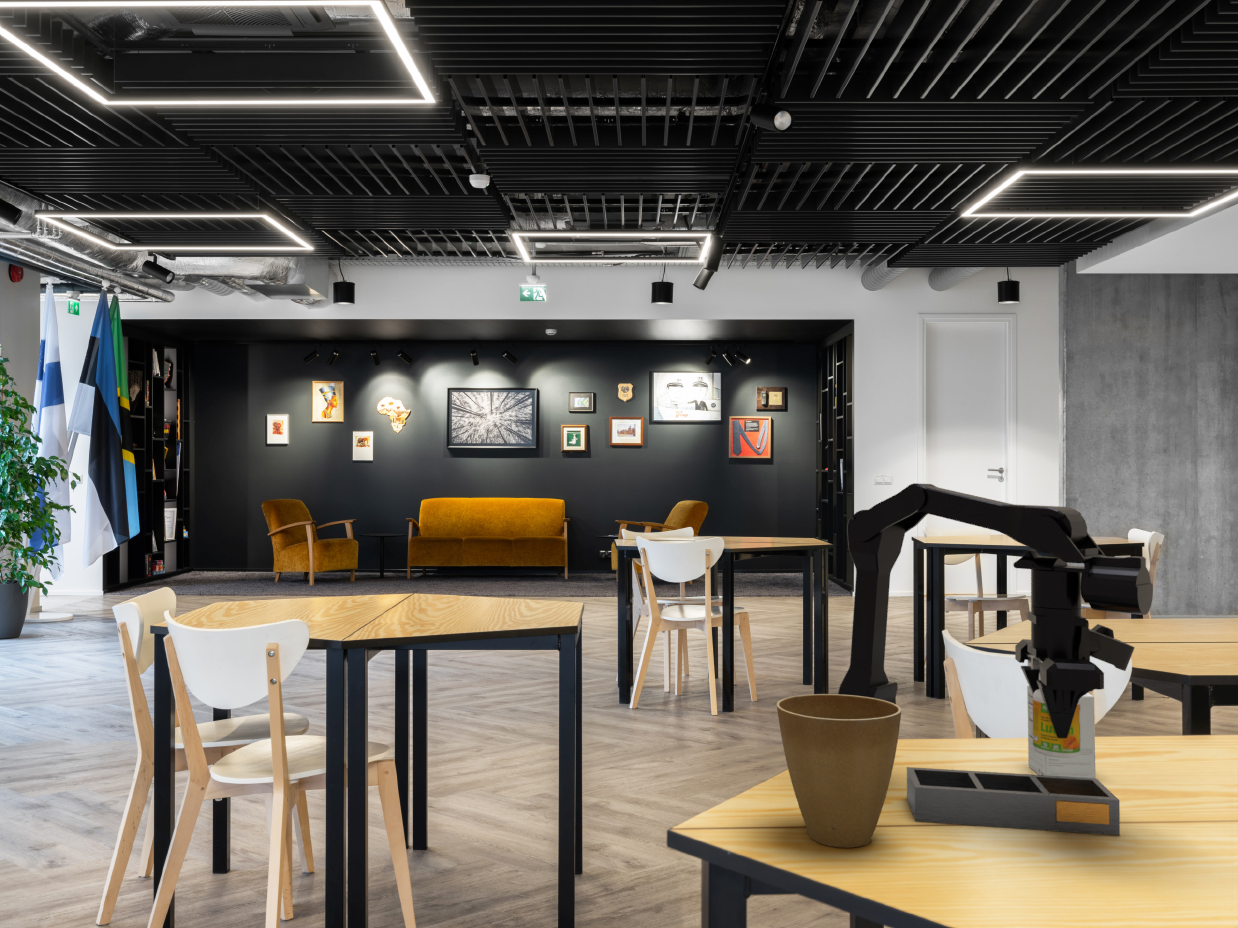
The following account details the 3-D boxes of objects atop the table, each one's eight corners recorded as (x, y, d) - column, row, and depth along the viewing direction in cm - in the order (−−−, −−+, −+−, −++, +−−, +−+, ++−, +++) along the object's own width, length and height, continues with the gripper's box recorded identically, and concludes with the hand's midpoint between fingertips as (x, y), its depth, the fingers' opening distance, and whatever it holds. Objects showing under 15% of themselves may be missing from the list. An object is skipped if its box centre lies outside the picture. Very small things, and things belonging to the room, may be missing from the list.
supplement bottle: (1035, 755, 113) (1035, 676, 113) (1030, 744, 118) (1030, 668, 119) (1083, 760, 111) (1083, 679, 112) (1076, 748, 117) (1076, 671, 117)
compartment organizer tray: (915, 821, 118) (915, 787, 118) (906, 798, 127) (906, 766, 127) (1120, 836, 113) (1120, 800, 113) (1096, 810, 122) (1096, 778, 122)
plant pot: (914, 829, 115) (914, 700, 116) (883, 870, 102) (883, 725, 103) (800, 807, 123) (800, 687, 123) (758, 843, 110) (758, 709, 110)
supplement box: (1076, 767, 142) (1075, 685, 142) (1096, 782, 134) (1095, 695, 135) (1026, 766, 142) (1026, 684, 143) (1044, 781, 135) (1043, 694, 135)
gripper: (1152, 619, 105) (1153, 757, 104) (1103, 600, 123) (1103, 718, 122) (1047, 615, 107) (1047, 750, 107) (1014, 597, 125) (1014, 712, 125)
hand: (1056, 731), depth 115 cm, fingers closed on supplement bottle, 5 cm apart
